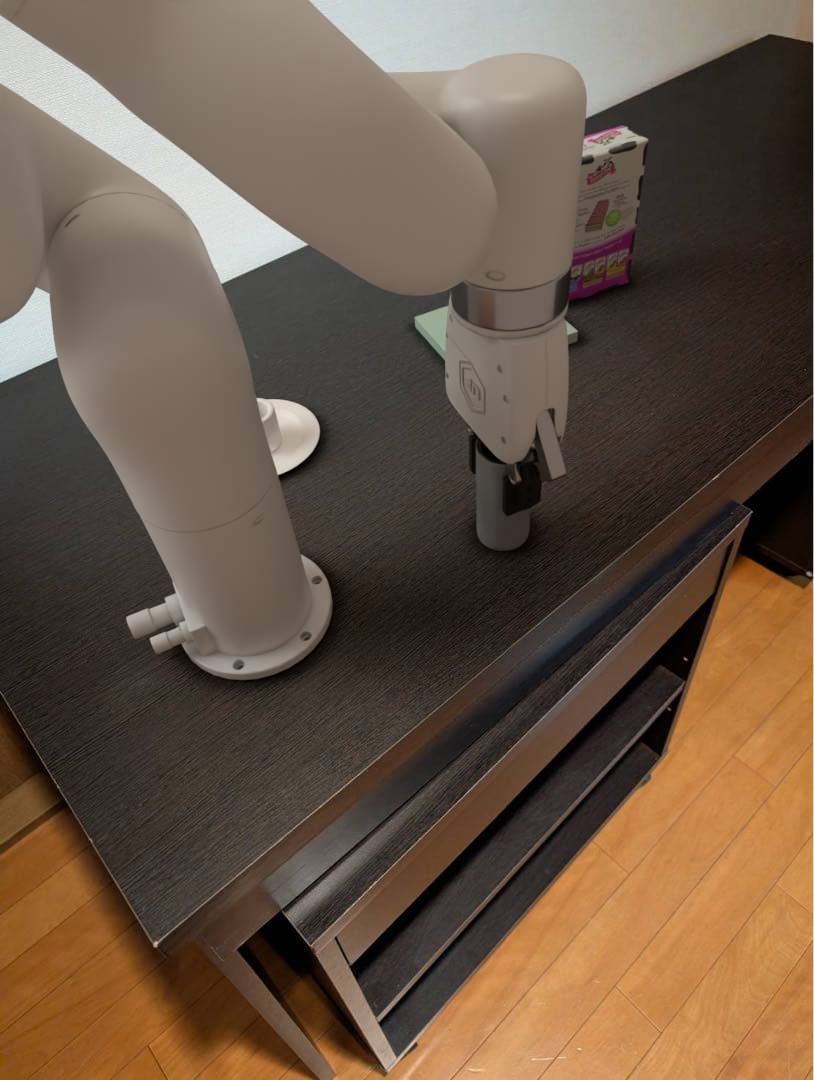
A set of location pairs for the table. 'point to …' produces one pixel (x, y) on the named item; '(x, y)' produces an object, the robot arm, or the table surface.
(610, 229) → the candy bar box
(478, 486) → the planter
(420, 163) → the robot arm
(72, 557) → the table surface
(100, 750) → the table surface
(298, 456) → the candle holder
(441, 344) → the pale green base plate
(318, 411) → the table surface
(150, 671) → the table surface
